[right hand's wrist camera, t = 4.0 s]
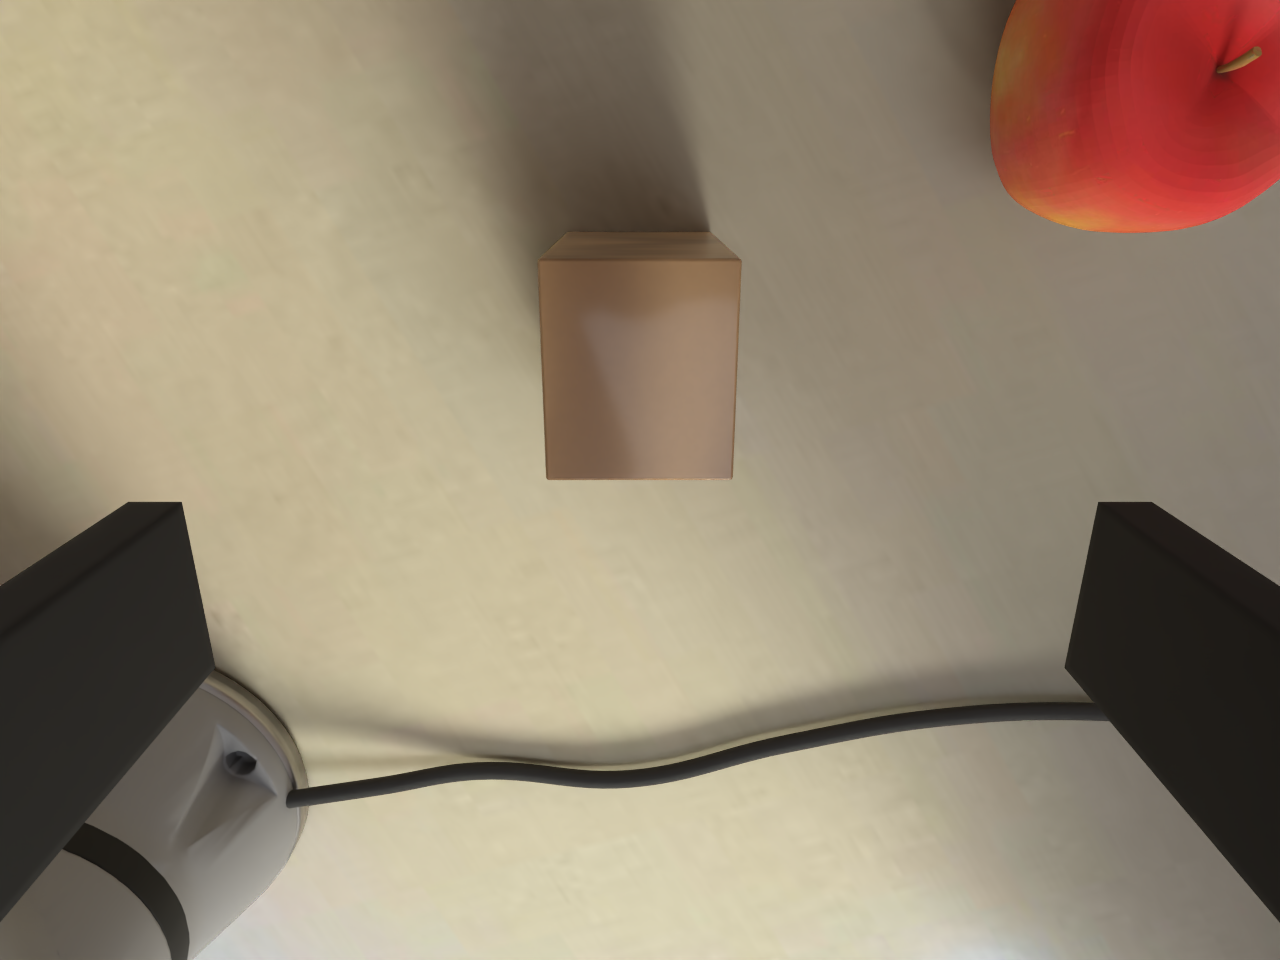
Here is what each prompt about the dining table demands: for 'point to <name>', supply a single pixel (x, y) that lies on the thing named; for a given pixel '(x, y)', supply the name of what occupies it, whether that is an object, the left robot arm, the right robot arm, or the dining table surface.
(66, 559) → the right robot arm
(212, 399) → the dining table surface
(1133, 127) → the apple
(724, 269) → the brick
